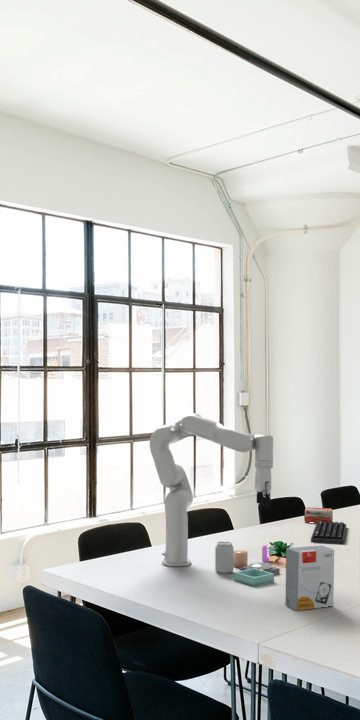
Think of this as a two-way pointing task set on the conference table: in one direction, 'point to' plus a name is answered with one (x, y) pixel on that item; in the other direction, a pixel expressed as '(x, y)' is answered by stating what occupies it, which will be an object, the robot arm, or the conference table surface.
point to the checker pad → (260, 566)
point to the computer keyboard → (329, 532)
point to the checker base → (272, 570)
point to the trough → (254, 577)
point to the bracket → (265, 553)
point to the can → (224, 557)
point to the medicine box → (318, 515)
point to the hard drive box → (309, 577)
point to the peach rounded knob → (240, 559)
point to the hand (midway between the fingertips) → (263, 505)
